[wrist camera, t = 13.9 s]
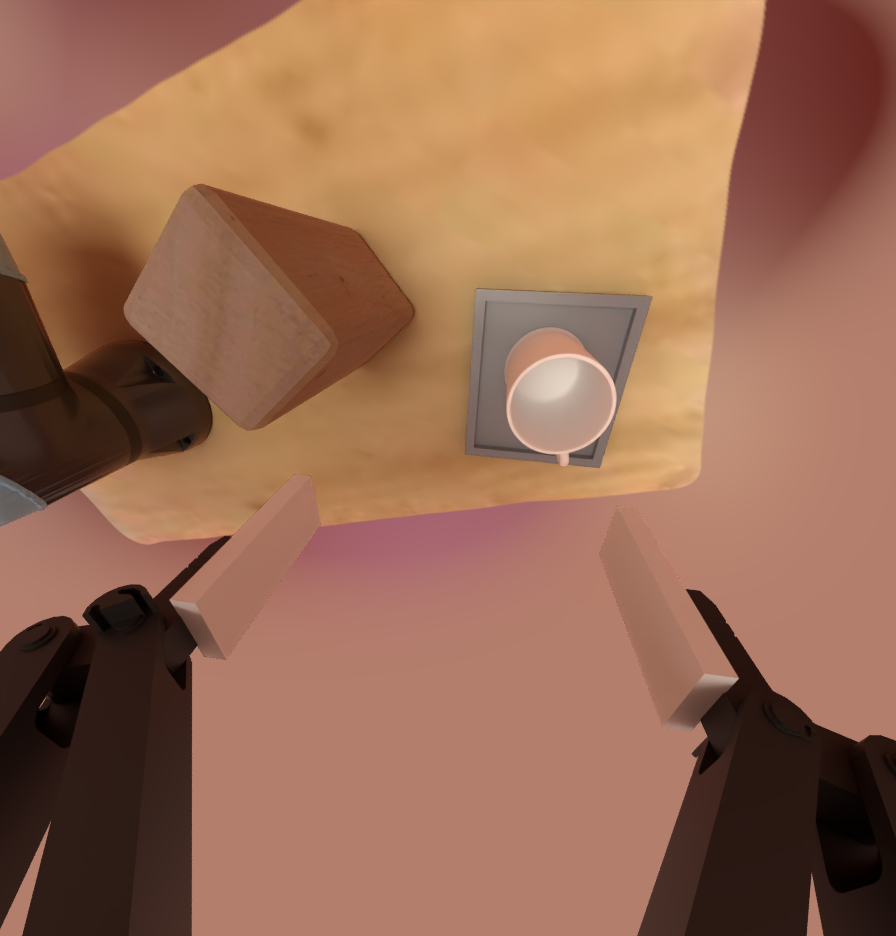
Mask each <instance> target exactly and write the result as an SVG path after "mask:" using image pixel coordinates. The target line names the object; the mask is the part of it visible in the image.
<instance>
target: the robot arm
mask: <svg viewBox="0 0 896 936" xmlns="http://www.w3.org/2000/svg"><path fill="white" fill-rule="evenodd" d="M26 283H28V281H27V278H26V277H25V276H24V275H22V274H21V273H20V271H19V269H18V267H17V265H16V263H15V261H14V259H13V257H12V255H11V253H10V251H9V249H8V247H7V245H6V243H5V241H4V239H3V237H2V236H1V234H0V526H3V525H5V524H8V523H10V522H13V521H15V520H17V519H19V518H22V517H24V516H26V515H29V514H31V513H34V512H36V511H41V510H44V509H45V508H47V506H48V505H50V504H52V503H54V502H56V501H58V500H60V499H61V498H63V497H65V496H67V495H69V494H71V493H73V492H75V491H77V490H79V489H81V488H83V487H85V486H87V485H89V484H91V483H93V482H95V481H97V480H99V479H101V478H103V477H105V476H107V475H109V474H111V473H113V472H115V471H117V470H119V469H121V468H123V467H125V466H127V465H129V464H131V463H133V462H135V461H137V460H141V459H147V458H153V457H158V456H164V455H170V454H176V453H181V452H184V451H186V450H189V449H190V448H192V447H194V446H196V445H198V444H200V443H201V442H203V441H204V440H205V439H206V437H207V436H208V434H209V431H210V428H211V412H210V407H209V404H208V401H207V399H206V396H205V394H204V393H203V392H202V391H201V390H200V389H198V388H197V387H196V386H195V385H194V384H193V383H192V382H191V381H190V380H189V379H188V378H187V377H186V376H185V375H183V374H182V373H181V372H180V371H179V370H178V369H177V368H176V367H175V366H174V365H173V364H172V363H171V362H169V361H168V360H167V359H166V358H165V357H164V356H163V355H162V354H161V353H160V352H159V351H158V350H157V349H156V348H154V347H153V346H152V345H151V344H148V343H145V342H140V341H123V342H118V343H112V344H107V345H104V346H102V347H100V348H98V349H96V350H95V351H93V352H92V353H90V354H88V355H87V356H85V357H84V358H82V359H80V360H79V361H77V362H76V363H74V364H72V365H71V366H69V367H68V368H66V369H64V370H63V369H62V367H61V365H60V362H59V360H58V358H57V355H56V353H55V351H54V348H53V346H52V344H51V341H50V339H49V337H48V334H47V332H46V329H45V327H44V325H43V322H42V320H41V318H40V315H39V313H38V311H37V308H36V306H35V304H34V301H33V299H32V297H31V294H30V292H29V290H28V287H27V285H26ZM320 525H321V522H320V517H319V512H318V507H317V503H316V498H315V493H314V488H313V484H312V479H311V476H306V475H296V474H294V475H293V476H292V477H291V478H290V479H289V480H288V481H287V482H286V483H285V484H284V485H283V486H282V487H281V488H280V489H279V490H278V491H277V492H276V493H275V494H274V495H273V496H272V497H271V498H270V499H269V500H268V501H267V502H266V503H265V504H264V505H263V506H262V507H261V508H260V509H259V510H258V511H257V512H256V513H255V514H254V515H253V516H252V517H251V518H250V519H249V520H248V521H247V522H246V523H245V524H244V525H243V526H242V527H241V528H240V529H239V530H238V531H237V532H236V533H235V534H234V535H233V537H230V536H224V537H222V538H221V539H219V540H217V541H216V542H214V543H212V544H211V545H209V546H208V547H207V548H206V549H205V550H204V551H203V552H202V553H201V554H200V555H199V556H198V558H196V559H194V560H193V561H192V562H191V563H190V564H189V566H188V568H185V569H184V570H183V571H182V572H181V573H180V574H179V575H178V576H177V577H176V578H175V579H173V580H172V581H171V582H170V583H169V584H168V585H167V586H166V587H165V588H164V589H163V590H162V591H161V592H160V593H159V594H158V595H157V596H156V597H155V598H154V599H153V598H152V597H151V595H150V594H149V592H148V591H147V589H146V588H145V587H143V586H141V585H126V586H122V587H118V588H116V589H114V590H111V591H109V592H107V593H105V594H104V595H102V596H100V597H99V598H97V599H96V600H95V601H94V602H92V603H91V604H90V605H89V606H88V607H87V608H86V610H85V612H84V613H83V617H84V618H85V620H86V621H87V622H88V623H89V625H85V626H77V624H76V623H75V622H74V621H73V620H72V619H71V618H69V617H66V616H59V617H52V618H49V619H46V620H43V621H40V622H38V623H36V624H34V625H32V626H30V627H28V628H26V629H25V630H23V631H22V632H20V633H19V634H17V635H16V636H15V637H14V638H13V639H12V640H11V641H10V642H8V643H7V644H6V645H5V647H4V648H3V649H2V651H1V652H0V928H1V926H2V924H3V922H4V919H5V918H6V915H7V913H8V911H9V909H10V907H11V905H12V903H13V901H14V898H15V896H16V894H17V892H18V890H19V888H20V885H21V883H22V881H23V879H24V877H25V875H26V873H27V871H28V868H29V866H30V864H31V862H32V860H33V858H34V856H35V853H36V851H37V849H38V847H39V845H40V842H41V841H42V839H43V836H44V834H45V832H46V830H47V828H48V826H49V824H50V822H51V824H50V828H49V832H48V836H47V840H46V844H45V848H44V852H43V855H42V859H41V863H40V868H39V872H38V876H37V879H36V884H35V887H34V891H33V895H32V899H31V903H30V907H29V911H28V915H27V919H26V923H25V927H24V931H23V935H22V936H192V931H191V930H192V929H191V928H192V919H191V918H192V917H191V915H192V907H191V906H192V661H191V658H190V656H189V655H190V654H191V653H192V652H193V650H194V649H195V648H196V647H197V646H198V648H199V649H200V651H201V653H202V654H203V656H204V657H210V658H216V659H223V660H227V658H228V657H229V655H230V654H231V653H232V651H233V650H234V648H235V647H236V645H237V644H238V642H239V641H240V640H241V638H242V637H243V635H244V634H245V632H246V631H247V629H248V628H249V627H250V625H251V624H252V622H253V621H254V619H255V618H256V617H257V615H258V614H259V612H260V611H261V609H262V608H263V607H264V605H265V604H266V602H267V601H268V599H269V598H270V596H271V595H272V594H273V592H274V591H275V589H276V588H277V586H278V585H279V584H280V582H281V581H282V579H283V578H284V576H285V575H286V573H287V572H288V571H289V569H290V568H291V566H292V565H293V563H294V562H295V561H296V559H297V558H298V556H299V555H300V553H301V552H302V550H303V549H304V548H305V546H306V545H307V543H308V542H309V540H310V539H311V537H312V536H313V535H314V533H315V532H316V530H317V529H318V527H319V526H320ZM600 558H601V561H602V563H603V566H604V569H605V572H606V575H607V577H608V580H609V583H610V585H611V588H612V591H613V593H614V596H615V599H616V602H617V604H618V607H619V610H620V613H621V615H622V618H623V621H624V624H625V626H626V629H627V632H628V635H629V637H630V640H631V643H632V645H633V648H634V651H635V654H636V656H637V659H638V662H639V665H640V667H641V670H642V673H643V676H644V678H645V681H646V684H647V686H648V689H649V692H650V695H651V697H652V700H653V703H654V706H655V708H656V711H657V713H658V716H659V719H660V722H661V725H662V727H667V728H673V729H679V730H686V731H692V730H693V729H694V728H695V726H696V725H697V724H698V723H699V722H700V721H701V723H702V725H703V727H704V729H705V732H706V734H707V736H708V737H707V738H706V739H705V740H704V741H703V742H702V743H701V744H700V745H699V746H698V747H697V748H696V749H695V750H694V752H693V753H692V755H693V756H694V757H697V756H698V755H699V756H698V759H697V762H696V765H695V767H694V770H693V774H692V777H691V779H690V782H689V785H688V788H687V791H686V794H685V797H684V800H683V803H682V806H681V809H680V812H679V815H678V818H677V820H676V824H675V826H674V829H673V833H672V835H671V838H670V842H669V844H668V847H667V850H666V853H665V856H664V859H663V862H662V865H661V868H660V871H659V873H658V877H657V879H656V882H655V885H654V888H653V892H652V894H651V897H650V900H649V903H648V906H647V909H646V912H645V915H644V918H643V921H642V924H641V927H640V930H639V932H638V935H637V936H807V923H808V910H809V898H810V885H811V872H812V876H813V881H814V886H815V892H816V897H817V902H818V908H819V913H820V919H821V923H822V929H823V935H824V936H896V741H895V740H892V739H889V738H887V737H884V736H881V735H869V736H868V737H866V738H865V739H863V740H862V741H860V742H857V741H854V740H852V739H849V738H847V737H845V736H842V735H840V734H838V733H835V732H833V731H830V730H828V729H826V728H823V727H821V726H819V725H816V724H815V723H813V722H812V720H811V719H810V718H809V717H808V716H807V715H806V714H805V713H804V712H803V711H802V710H801V709H800V708H799V707H798V706H796V705H795V704H794V703H792V702H791V701H790V700H788V699H787V698H785V697H783V696H782V695H780V694H777V693H776V692H774V691H773V690H772V689H771V688H770V687H769V685H768V684H767V682H766V681H765V679H764V678H763V676H762V675H761V673H760V672H759V670H758V668H757V667H756V666H755V664H754V662H753V661H752V659H751V658H750V657H749V655H748V654H747V652H746V650H745V649H744V647H743V646H742V644H741V643H740V641H739V640H738V638H737V637H735V636H734V632H733V631H732V629H731V628H730V626H729V625H728V624H726V620H725V619H724V617H723V616H722V614H721V613H720V611H719V610H718V608H717V607H716V605H715V604H714V603H713V602H712V601H710V599H708V598H707V597H706V596H705V595H704V594H703V593H702V592H701V591H697V590H689V589H685V588H684V586H683V584H682V583H681V581H680V580H679V578H678V576H677V574H676V573H675V571H674V569H673V568H672V566H671V564H670V563H669V561H668V559H667V558H666V556H665V554H664V553H663V551H662V549H661V548H660V546H659V544H658V543H657V541H656V539H655V538H654V536H653V534H652V533H651V531H650V529H649V528H648V526H647V524H646V523H645V521H644V519H643V517H642V516H641V514H640V512H639V511H638V509H637V508H634V507H623V506H617V508H616V510H615V513H614V516H613V519H612V521H611V524H610V527H609V530H608V532H607V535H606V538H605V541H604V543H603V546H602V549H601V551H600ZM45 697H46V699H45ZM44 699H45V701H44V703H43V704H42V706H41V707H40V705H41V703H42V702H43V700H44ZM39 707H40V708H39ZM51 819H52V820H51Z"/></svg>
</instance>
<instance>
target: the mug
mask: <svg viewBox="0 0 896 936" xmlns="http://www.w3.org/2000/svg"><path fill="white" fill-rule="evenodd" d="M504 375H505V381H506V385H507V392H506V412H507V419H508V423H509V425H510V428H511V430H512V432H513V433H514V435H515V436H516V437H517V438H518V439H519V440H520V441H521V442H522V443H523V444H524V445H526V446H527V447H529V448H531V449H533V450H535V451H538V452H541V453H546V454H556V456H557V460H558V463H559V465H560V466H567V465H568V463H569V453H570V452H574V451H577V450H580V449H582V448H584V447H586V446H588V445H589V444H591V443H592V442H594V441H595V440H596V439H597V438H598V437H599V436H600V435H601V434H602V433H603V432H604V431H605V430H606V428H607V427H608V425H609V424H610V422H611V420H612V418H613V415H614V412H615V408H616V399H617V397H616V389H615V385H614V382H613V380H612V378H611V376H610V375H609V373H608V372H607V370H606V369H605V368H604V367H603V366H602V365H601V364H600V363H599V362H598V361H597V360H596V359H595V358H594V357H593V356H592V355H591V354H589V353H588V352H587V351H586V350H585V348H584V346H583V344H582V343H581V341H580V340H579V339H578V338H577V337H576V336H575V335H573V334H572V333H570V332H569V331H567V330H564V329H561V328H556V327H545V328H540V329H536V330H534V331H531V332H529V333H528V334H526V335H524V336H523V337H522V338H521V339H519V340H518V341H517V342H516V344H515V345H514V346H513V347H512V349H511V350H510V352H509V354H508V357H507V359H506V363H505V370H504Z"/></svg>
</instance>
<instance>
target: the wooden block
mask: <svg viewBox="0 0 896 936" xmlns="http://www.w3.org/2000/svg"><path fill="white" fill-rule="evenodd" d="M124 315H125V317H126V319H127V320H128V322H129V324H130V325H131V326H132V327H133V328H134V329H135V330H136V331H137V332H138V333H139V334H141V335H142V336H143V337H144V338H145V339H146V340H147V341H148V342H149V343H150V344H151V345H152V346H153V347H154V348H156V349H157V350H158V351H159V352H160V353H161V354H162V355H163V356H164V357H165V358H166V359H167V360H168V361H169V362H171V363H172V364H173V365H174V366H175V367H176V368H177V369H178V370H179V371H180V372H181V373H182V374H183V375H185V376H186V377H187V378H188V379H189V380H190V381H191V382H192V383H193V384H194V385H195V386H196V387H197V388H198V389H200V390H201V391H202V392H203V393H204V394H205V395H206V396H207V397H208V398H209V399H210V400H211V401H212V402H213V403H215V404H216V405H217V406H218V407H219V408H220V409H221V410H222V411H223V412H224V413H225V414H226V415H227V416H228V417H230V418H231V419H232V420H233V421H234V422H235V423H236V424H237V425H238V426H240V427H241V428H243V429H245V430H247V431H250V430H256V429H259V428H263V427H265V426H266V425H268V424H269V423H271V422H273V421H274V420H276V419H277V418H279V417H281V416H282V415H284V414H286V413H287V412H289V411H290V410H292V409H294V408H295V407H297V406H298V405H300V404H302V403H303V402H305V401H306V400H308V399H310V398H311V397H313V396H314V395H316V394H318V393H319V392H321V391H323V390H324V389H326V388H327V387H329V386H331V385H332V384H334V383H335V382H337V381H339V380H340V379H342V378H343V377H345V376H347V375H348V374H350V373H351V372H353V371H355V370H356V369H358V368H360V367H361V366H362V365H363V364H364V363H365V362H367V361H368V360H369V359H370V358H371V357H372V356H373V355H374V354H375V353H376V352H377V351H378V350H379V349H381V348H382V347H383V346H384V345H385V344H386V343H387V342H388V341H389V340H390V339H391V338H392V337H393V336H395V335H396V334H397V333H398V332H399V331H400V330H401V329H402V328H403V327H404V326H405V325H406V324H407V323H408V322H410V321H411V319H412V317H413V315H414V311H413V308H412V305H411V304H410V302H409V301H408V300H407V298H406V297H405V296H404V294H403V293H402V292H401V290H400V289H399V288H398V286H397V285H396V284H395V282H394V281H393V280H392V278H391V277H390V276H389V274H388V273H387V272H386V270H385V269H384V268H383V266H382V265H381V264H380V262H379V261H378V260H377V258H376V257H375V256H374V254H373V253H372V252H371V250H370V249H369V248H368V246H367V245H366V244H365V242H364V241H363V240H362V239H361V237H360V236H359V235H358V233H357V232H355V231H354V230H352V229H351V228H348V227H345V226H341V225H338V224H335V223H331V222H328V221H324V220H321V219H318V218H314V217H311V216H308V215H304V214H301V213H298V212H294V211H291V210H287V209H284V208H281V207H277V206H274V205H271V204H267V203H264V202H261V201H257V200H254V199H251V198H247V197H244V196H240V195H237V194H234V193H230V192H227V191H224V190H220V189H217V188H214V187H210V186H207V185H203V184H198V185H194V186H191V187H190V188H189V189H187V190H186V191H184V192H183V193H182V195H181V197H180V199H179V201H178V202H177V204H176V206H175V208H174V210H173V212H172V214H171V216H170V218H169V220H168V222H167V224H166V226H165V228H164V229H163V231H162V233H161V235H160V237H159V239H158V241H157V243H156V245H155V247H154V249H153V251H152V253H151V254H150V256H149V258H148V260H147V262H146V264H145V266H144V268H143V270H142V272H141V274H140V276H139V278H138V280H137V281H136V283H135V285H134V287H133V289H132V291H131V293H130V295H129V297H128V299H127V301H126V303H125V305H124Z"/></svg>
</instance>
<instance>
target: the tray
mask: <svg viewBox="0 0 896 936" xmlns="http://www.w3.org/2000/svg"><path fill="white" fill-rule="evenodd" d="M651 300H652V297H651V296H641V295H618V294H595V293H571V292H548V291H525V290H502V289H479V288H477V289H476V297H475V312H474V327H473V342H472V357H471V372H470V387H469V402H468V417H467V432H466V447H465V454H467V455H477V456H487V457H496V458H506V459H516V460H526V461H535V462H545V463H555V464H559V463H558V460H557V456H556V454H546V453H541V452H538V451H535V450H533V449H531V448H529V447H527V446H526V445H524V444H523V443H522V442H521V441H520V440H519V439H518V438H517V437H516V436H515V435H514V433H513V432H512V430H511V428H510V425H509V423H508V419H507V412H506V392H507V385H506V381H505V375H504V370H505V363H506V359H507V357H508V354H509V352H510V350H511V349H512V347H513V346H514V345H515V344H516V342H517V341H518V340H519V339H521V338H522V337H523V336H524V335H526V334H528V333H529V332H531V331H534V330H536V329H540V328H545V327H556V328H561V329H564V330H567V331H569V332H570V333H572V334H573V335H575V336H576V337H577V338H578V339H579V340H580V341H581V343H582V344H583V346H584V348H585V350H586V351H587V352H588V353H589V354H591V355H592V356H593V357H594V358H595V359H596V360H597V361H598V362H599V363H600V364H601V365H602V366H603V367H604V368H605V369H606V370H607V372H608V373H609V375H610V376H611V378H612V380H613V382H614V385H615V389H616V397H617V399H616V408H615V412H614V415H613V418H612V420H611V422H610V424H609V425H608V427H607V428H606V430H605V431H604V432H603V433H602V434H601V435H600V436H599V437H598V438H597V439H596V440H595V441H594V442H592V443H591V444H589V445H588V446H586V447H584V448H582V449H580V450H577V451H574V452H570V453H569V463H568V465H575V466H584V467H594V468H600V466H601V462H602V459H603V456H604V453H605V449H606V446H607V443H608V440H609V436H610V433H611V430H612V427H613V423H614V420H615V417H616V414H617V410H618V407H619V404H620V401H621V397H622V394H623V391H624V388H625V384H626V381H627V378H628V375H629V371H630V368H631V365H632V361H633V358H634V355H635V352H636V348H637V345H638V342H639V339H640V335H641V332H642V329H643V326H644V322H645V319H646V316H647V313H648V309H649V306H650V303H651Z"/></svg>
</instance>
